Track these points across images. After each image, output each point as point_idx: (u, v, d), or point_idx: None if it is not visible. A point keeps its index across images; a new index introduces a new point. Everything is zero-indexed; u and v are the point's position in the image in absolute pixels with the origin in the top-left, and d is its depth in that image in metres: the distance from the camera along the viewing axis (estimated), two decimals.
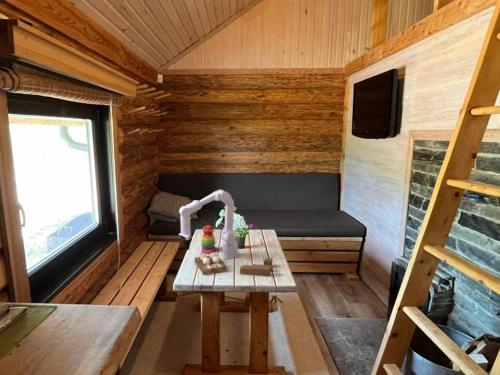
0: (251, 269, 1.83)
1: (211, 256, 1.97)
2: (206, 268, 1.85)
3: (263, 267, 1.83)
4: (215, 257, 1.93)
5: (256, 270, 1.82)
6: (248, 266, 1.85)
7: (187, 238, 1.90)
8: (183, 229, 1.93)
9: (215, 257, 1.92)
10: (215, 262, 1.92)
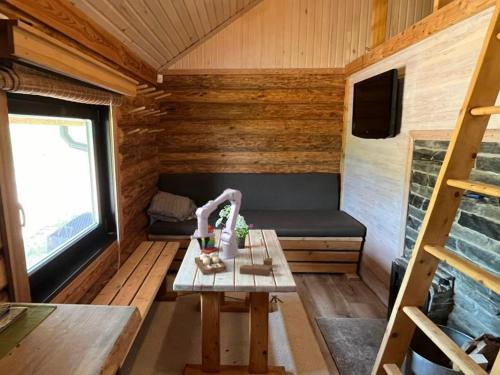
0: (251, 269, 1.83)
1: (211, 256, 1.97)
2: (206, 268, 1.85)
3: (263, 267, 1.84)
4: (215, 257, 1.93)
5: (256, 270, 1.82)
6: (248, 266, 1.86)
7: (191, 237, 1.92)
8: None
9: (215, 257, 1.92)
10: (215, 262, 1.92)
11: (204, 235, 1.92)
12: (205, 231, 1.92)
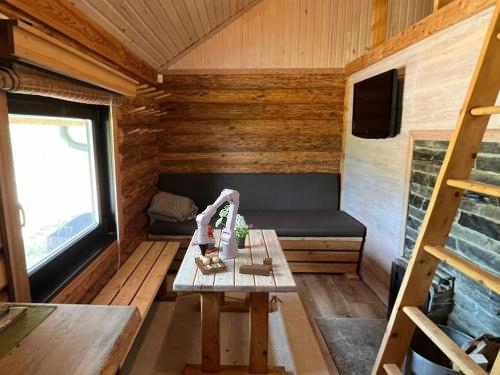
0: (250, 268, 1.83)
1: (211, 256, 1.97)
2: (206, 268, 1.85)
3: (262, 267, 1.84)
4: (215, 257, 1.93)
5: (255, 270, 1.83)
6: (247, 265, 1.86)
7: (191, 244, 1.92)
8: None
9: (215, 257, 1.92)
10: (215, 262, 1.92)
11: (204, 242, 1.92)
12: (205, 238, 1.92)
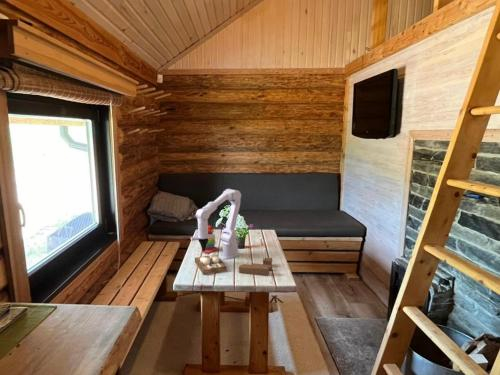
0: (250, 268, 1.84)
1: (211, 256, 1.97)
2: (206, 268, 1.85)
3: (262, 266, 1.84)
4: (215, 257, 1.93)
5: (255, 270, 1.83)
6: (247, 265, 1.86)
7: (191, 239, 1.92)
8: None
9: (215, 257, 1.92)
10: (215, 262, 1.92)
11: (204, 236, 1.92)
12: (205, 232, 1.92)
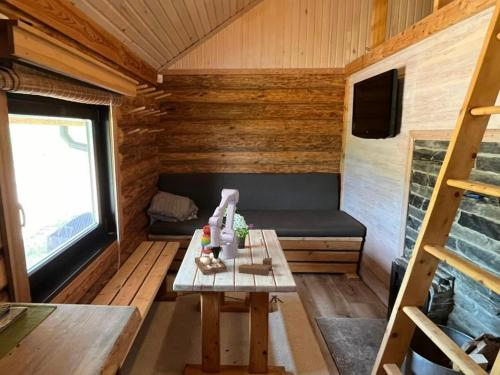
0: (249, 268, 1.84)
1: (211, 256, 1.97)
2: (206, 268, 1.85)
3: (261, 266, 1.84)
4: None
5: (254, 270, 1.83)
6: (246, 265, 1.87)
7: (205, 248, 1.88)
8: None
9: (215, 259, 1.93)
10: (215, 263, 1.92)
11: (218, 244, 1.90)
12: (219, 240, 1.90)
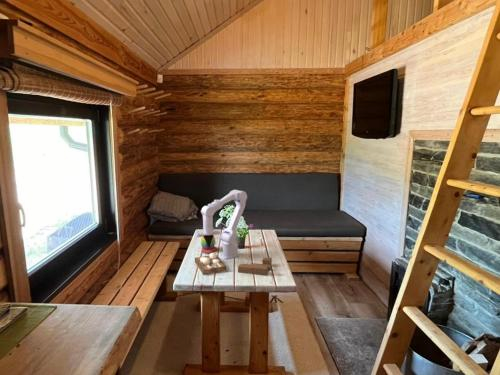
0: (249, 268, 1.85)
1: (211, 256, 1.97)
2: (206, 268, 1.85)
3: (261, 266, 1.85)
4: (215, 260, 1.93)
5: (253, 269, 1.84)
6: (246, 265, 1.87)
7: (196, 235, 1.95)
8: None
9: (215, 260, 1.93)
10: None
11: (209, 233, 1.95)
12: (210, 229, 1.95)
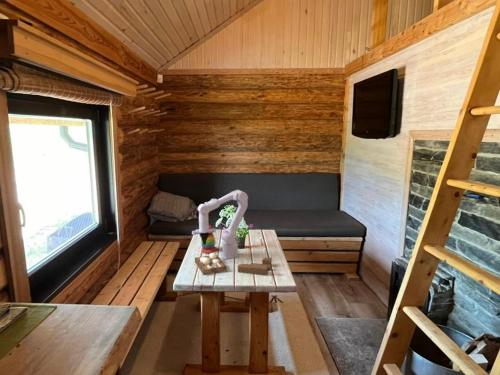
0: (248, 268, 1.85)
1: (211, 256, 1.97)
2: (206, 268, 1.85)
3: (260, 266, 1.85)
4: (215, 260, 1.93)
5: (253, 269, 1.84)
6: (246, 265, 1.87)
7: (192, 233, 1.99)
8: None
9: (215, 260, 1.93)
10: None
11: (205, 230, 1.99)
12: (206, 227, 1.99)
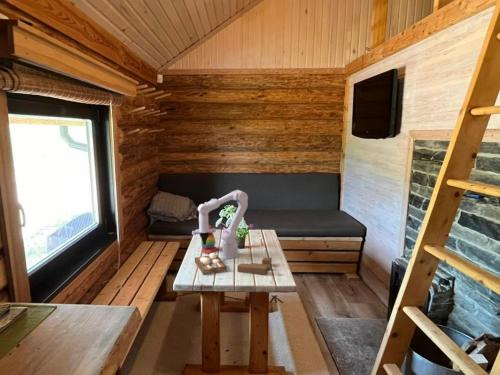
0: (248, 267, 1.85)
1: (211, 256, 1.97)
2: (206, 268, 1.85)
3: (260, 266, 1.85)
4: (215, 260, 1.93)
5: (253, 269, 1.84)
6: (245, 264, 1.88)
7: (192, 233, 1.99)
8: None
9: (215, 260, 1.93)
10: None
11: (205, 230, 1.99)
12: (206, 227, 1.99)
